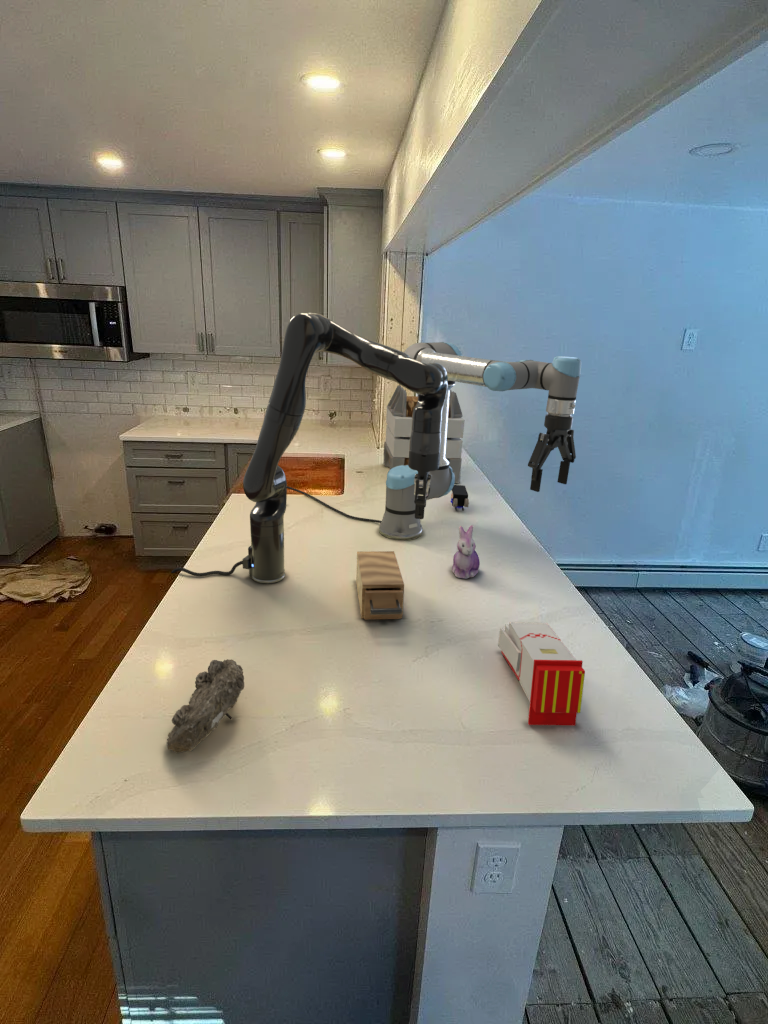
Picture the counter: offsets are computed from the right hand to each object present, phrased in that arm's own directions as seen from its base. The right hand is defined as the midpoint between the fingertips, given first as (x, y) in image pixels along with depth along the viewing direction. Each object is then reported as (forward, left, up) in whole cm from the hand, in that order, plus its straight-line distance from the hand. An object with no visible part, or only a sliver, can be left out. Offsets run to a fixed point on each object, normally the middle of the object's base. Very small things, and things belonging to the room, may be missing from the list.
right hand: (548, 486), depth 165 cm
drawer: (-11, -54, -27) cm, 61 cm away
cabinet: (-16, -50, -28) cm, 60 cm away
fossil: (+1, -106, -28) cm, 109 cm away
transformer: (-100, +47, -28) cm, 114 cm away
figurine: (-13, -18, -28) cm, 36 cm away
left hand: (-6, -46, 0) cm, 46 cm away
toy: (+32, -47, -28) cm, 64 cm away
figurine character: (-56, +26, -28) cm, 67 cm away
